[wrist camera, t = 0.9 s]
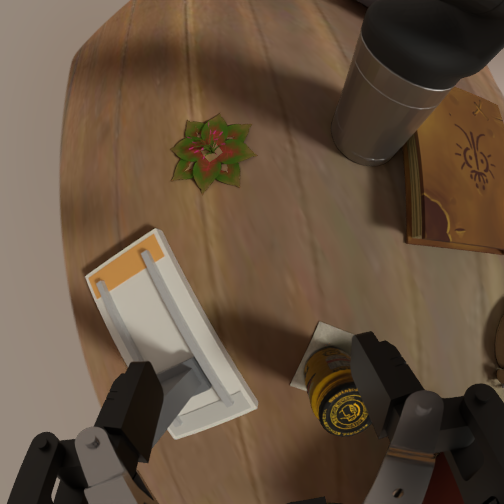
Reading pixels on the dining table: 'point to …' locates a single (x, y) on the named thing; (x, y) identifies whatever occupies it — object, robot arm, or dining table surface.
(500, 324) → the alarm clock
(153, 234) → the switch board
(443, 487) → the bucket
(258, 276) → the dining table surface
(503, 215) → the diary
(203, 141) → the succulent plant
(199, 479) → the dining table surface
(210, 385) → the switch lever
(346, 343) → the condiment
